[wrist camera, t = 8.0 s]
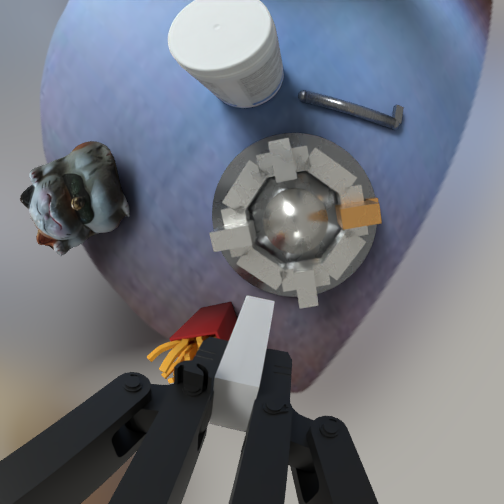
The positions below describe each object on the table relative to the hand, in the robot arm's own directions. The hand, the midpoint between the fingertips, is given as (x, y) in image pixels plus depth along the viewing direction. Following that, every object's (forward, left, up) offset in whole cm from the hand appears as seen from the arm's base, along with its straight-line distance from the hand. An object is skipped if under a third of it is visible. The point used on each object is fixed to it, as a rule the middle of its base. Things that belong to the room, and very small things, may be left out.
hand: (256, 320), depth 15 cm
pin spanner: (-19, +4, -23) cm, 30 cm away
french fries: (+16, -5, -23) cm, 28 cm away
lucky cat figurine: (+2, -28, -23) cm, 36 cm away
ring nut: (-3, +1, -19) cm, 20 cm away
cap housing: (-3, +1, -23) cm, 23 cm away
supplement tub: (-19, -10, -23) cm, 31 cm away
